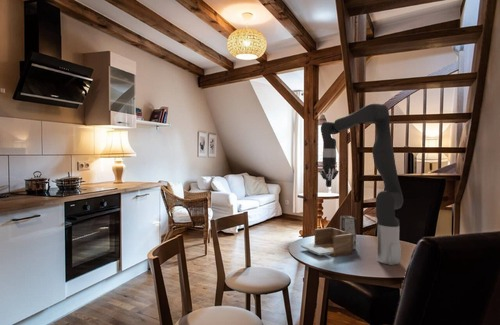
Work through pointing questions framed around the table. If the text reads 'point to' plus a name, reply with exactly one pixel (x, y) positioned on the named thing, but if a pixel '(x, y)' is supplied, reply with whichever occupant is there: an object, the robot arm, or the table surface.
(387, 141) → the robot arm
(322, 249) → the panel
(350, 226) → the coffee box
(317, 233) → the pickup bed
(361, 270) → the table surface
